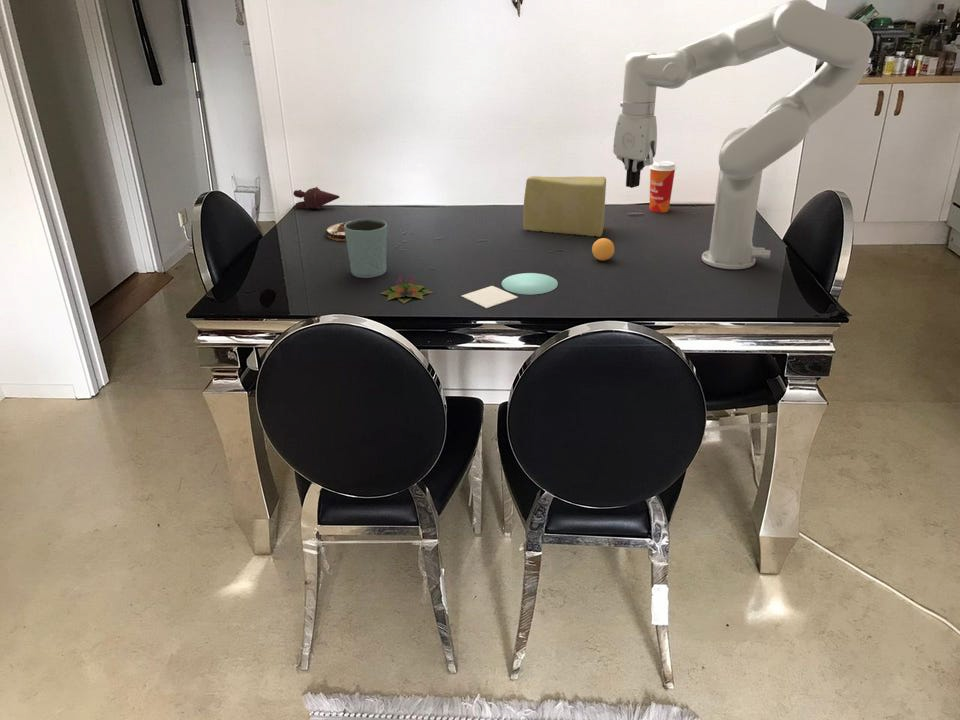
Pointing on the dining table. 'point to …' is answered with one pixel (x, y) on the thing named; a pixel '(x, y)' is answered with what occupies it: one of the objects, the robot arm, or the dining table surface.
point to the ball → (603, 249)
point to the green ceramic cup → (366, 247)
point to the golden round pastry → (337, 232)
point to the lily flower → (406, 291)
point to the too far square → (489, 296)
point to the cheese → (565, 205)
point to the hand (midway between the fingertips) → (632, 186)
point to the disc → (529, 283)
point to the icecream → (314, 198)
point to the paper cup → (661, 185)
